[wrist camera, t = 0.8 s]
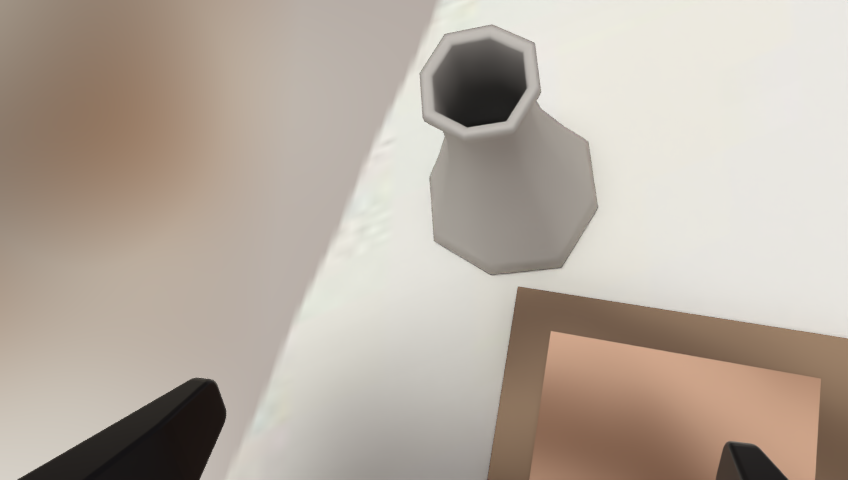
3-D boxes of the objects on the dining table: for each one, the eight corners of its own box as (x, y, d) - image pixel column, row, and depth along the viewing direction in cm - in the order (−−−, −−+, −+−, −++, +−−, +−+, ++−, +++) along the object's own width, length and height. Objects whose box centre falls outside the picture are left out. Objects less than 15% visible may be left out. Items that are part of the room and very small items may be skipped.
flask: (614, 127, 23) (652, -37, 14) (579, 295, 22) (595, 243, 12) (450, 105, 25) (383, -52, 16) (410, 257, 24) (313, 189, 14)
